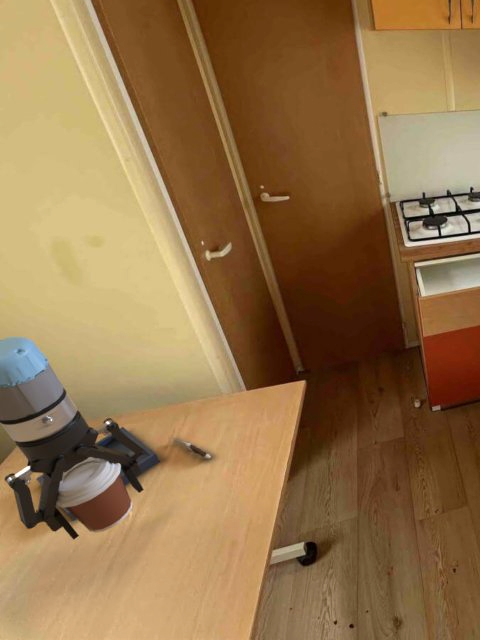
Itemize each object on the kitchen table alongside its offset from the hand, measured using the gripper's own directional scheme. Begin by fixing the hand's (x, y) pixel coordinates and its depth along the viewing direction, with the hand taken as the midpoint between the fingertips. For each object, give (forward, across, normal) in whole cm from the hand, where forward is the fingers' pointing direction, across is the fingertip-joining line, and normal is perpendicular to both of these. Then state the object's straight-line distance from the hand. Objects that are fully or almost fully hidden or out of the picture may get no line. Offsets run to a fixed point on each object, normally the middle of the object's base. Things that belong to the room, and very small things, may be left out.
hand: (107, 509), depth 78 cm
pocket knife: (+10, +17, +11) cm, 22 cm away
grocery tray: (+10, +4, +22) cm, 24 cm away
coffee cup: (+2, 0, 0) cm, 2 cm away
